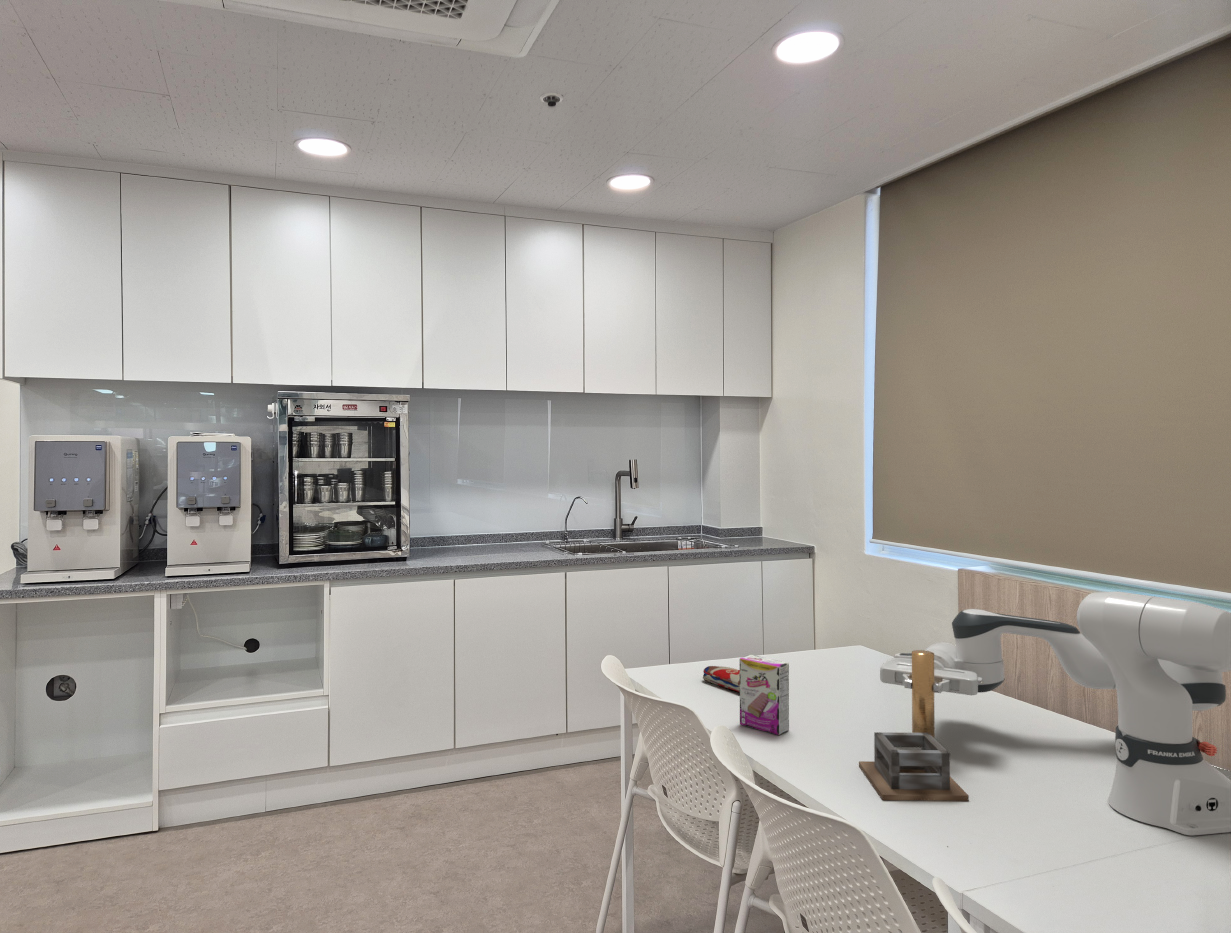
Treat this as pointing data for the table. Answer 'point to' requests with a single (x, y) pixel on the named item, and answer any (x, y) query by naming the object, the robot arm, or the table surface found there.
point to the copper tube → (923, 692)
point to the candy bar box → (764, 694)
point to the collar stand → (911, 769)
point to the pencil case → (723, 677)
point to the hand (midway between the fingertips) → (922, 686)
